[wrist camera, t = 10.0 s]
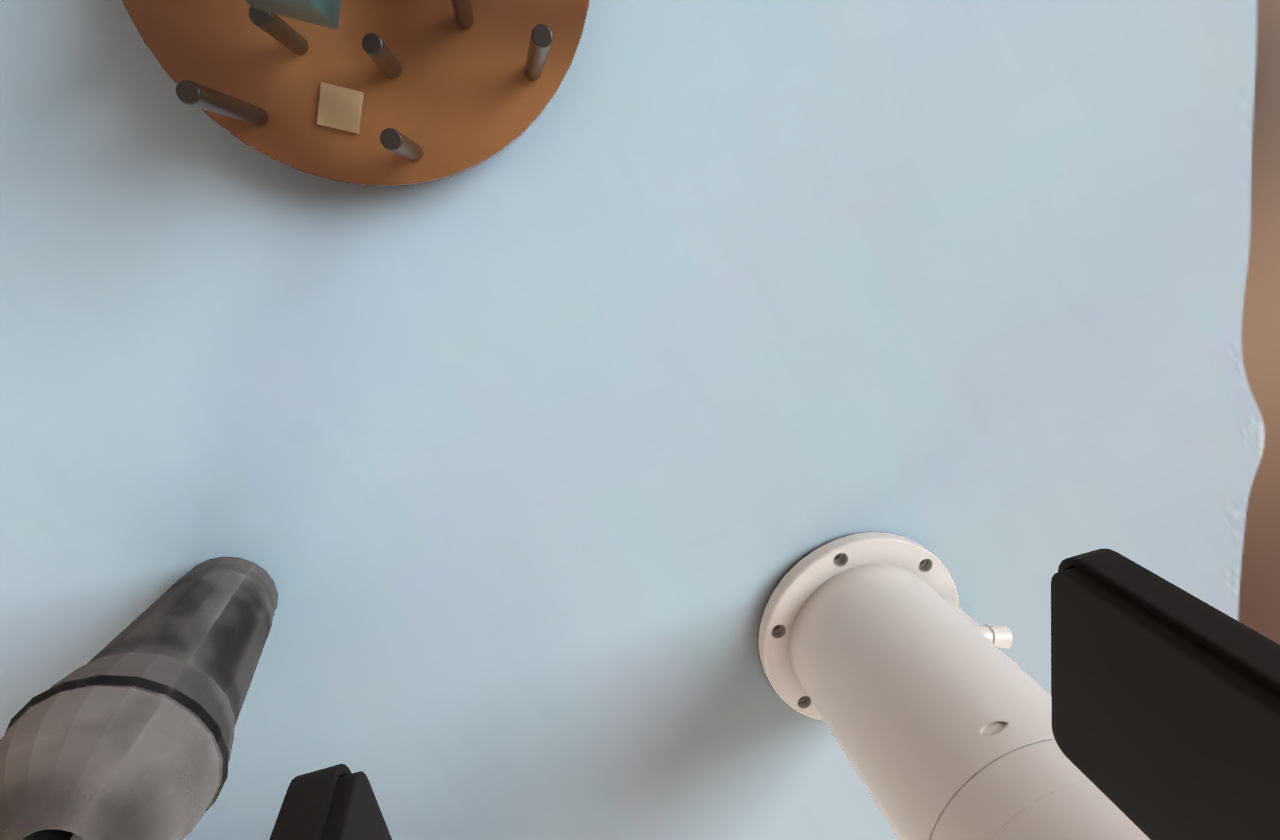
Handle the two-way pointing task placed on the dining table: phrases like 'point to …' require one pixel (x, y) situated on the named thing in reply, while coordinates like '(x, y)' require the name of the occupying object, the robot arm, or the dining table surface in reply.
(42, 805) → the beverage cup
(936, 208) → the dining table surface
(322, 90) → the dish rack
